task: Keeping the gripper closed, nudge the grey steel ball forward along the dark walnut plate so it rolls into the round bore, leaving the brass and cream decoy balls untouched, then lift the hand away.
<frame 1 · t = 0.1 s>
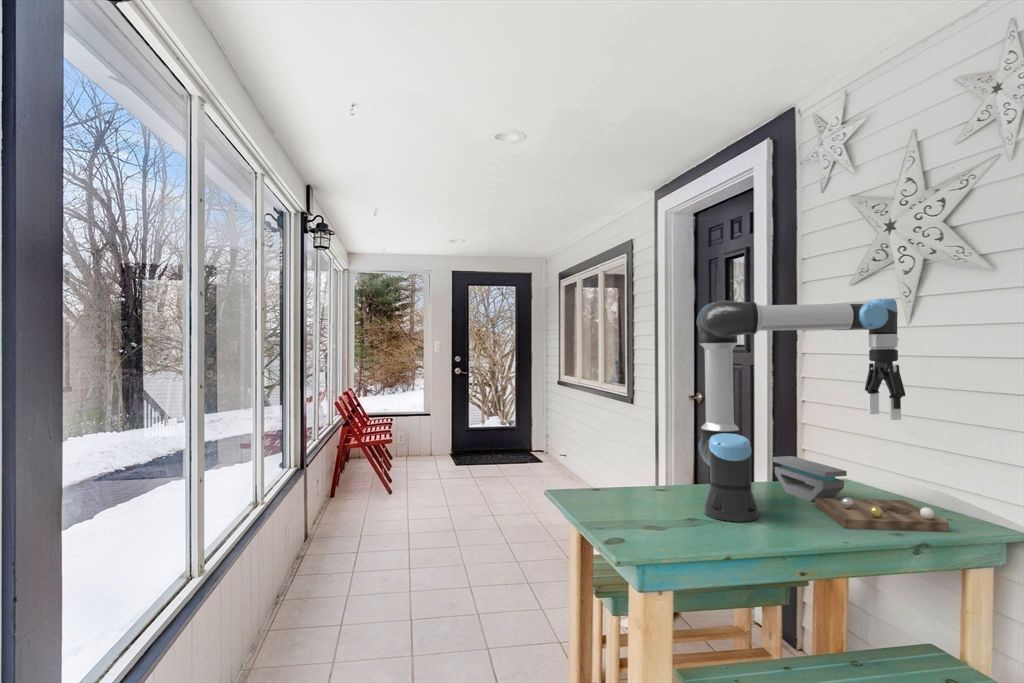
hand: (884, 416, 178), 28 cm above the table, fingers open, 13 cm apart
walnut plate: (876, 517, 167), on the table
steel ball: (847, 503, 168), point 4 cm above the table, touching walnut plate
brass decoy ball: (875, 511, 159), point 4 cm above the table, touching walnut plate
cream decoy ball: (926, 513, 158), point 4 cm above the table, touching walnut plate
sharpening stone: (807, 496, 192), on the table
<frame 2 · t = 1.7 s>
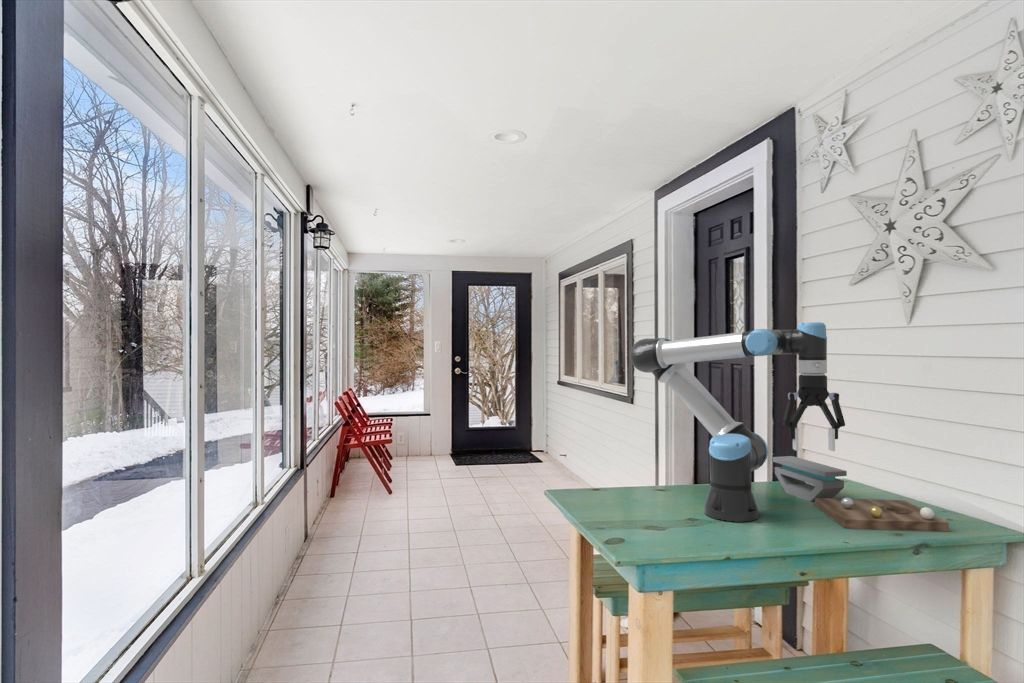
hand: (813, 450, 170), 20 cm above the table, fingers open, 9 cm apart
nothing on the table moved.
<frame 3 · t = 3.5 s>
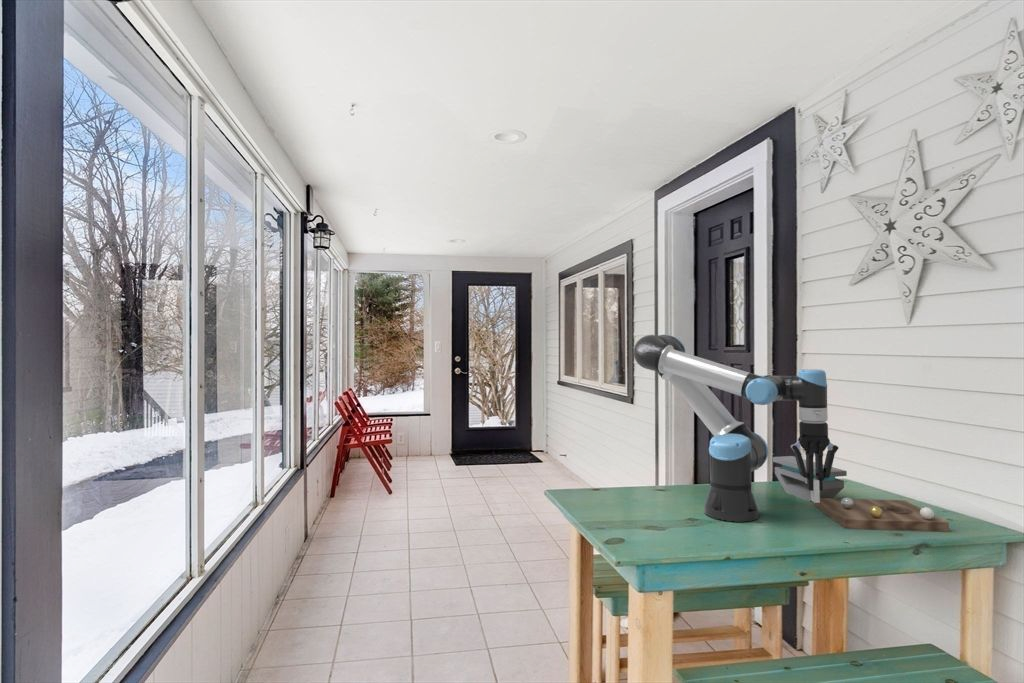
hand: (815, 501, 170), 4 cm above the table, fingers closed
nothing on the table moved.
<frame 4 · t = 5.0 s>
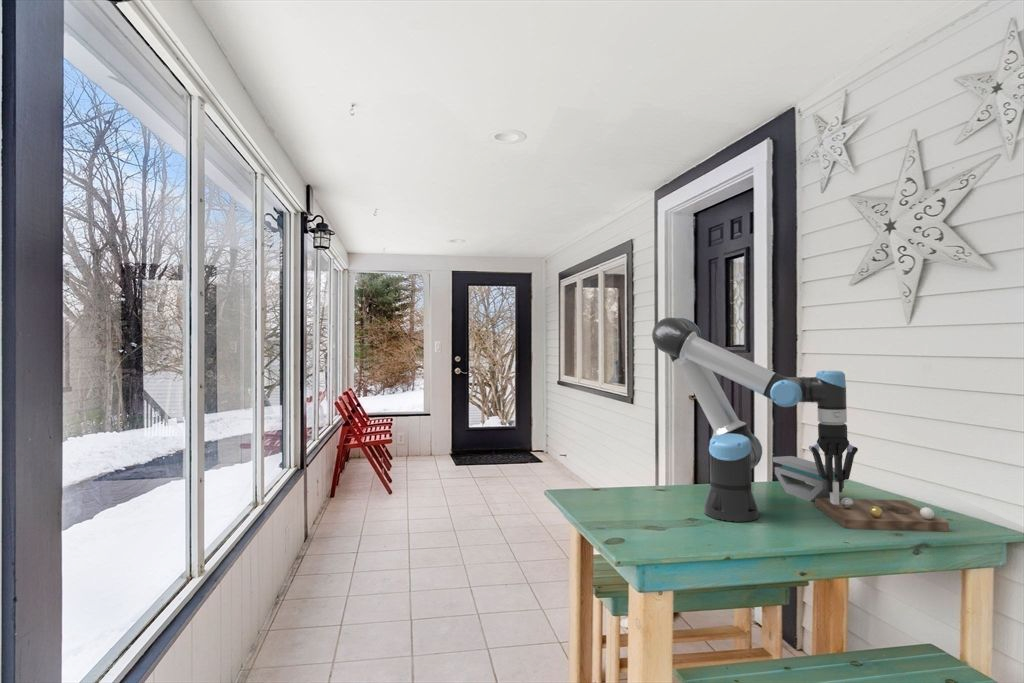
hand: (834, 503, 169), 4 cm above the table, fingers closed
nothing on the table moved.
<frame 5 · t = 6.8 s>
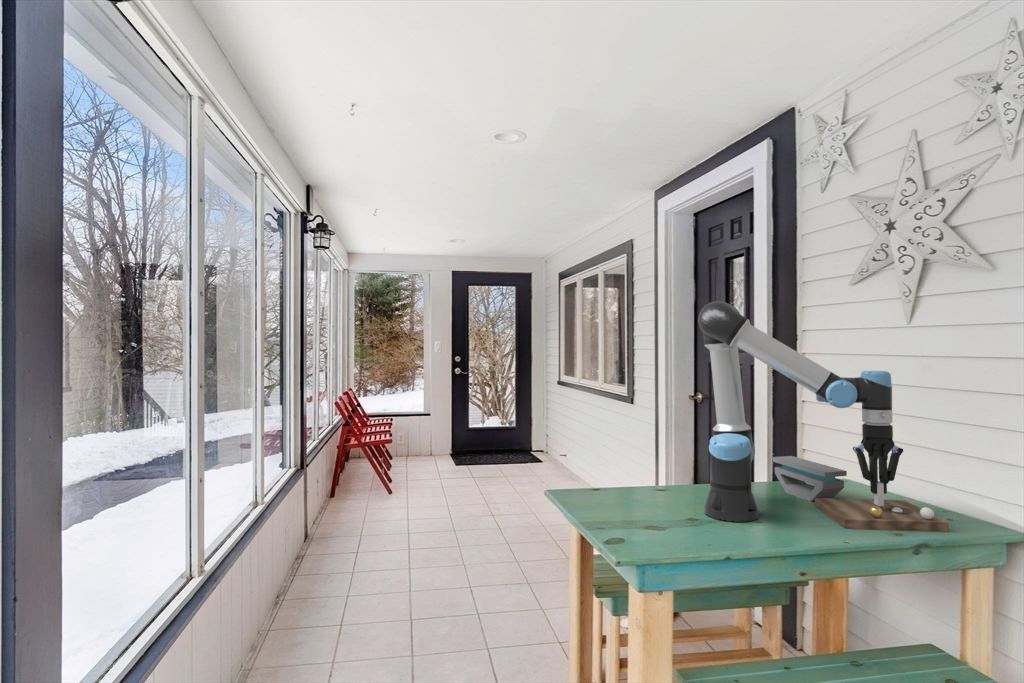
hand: (878, 504, 167), 4 cm above the table, fingers closed
steel ball: (897, 513, 166), point 2 cm above the table, tilted 162°
everything else where it was.
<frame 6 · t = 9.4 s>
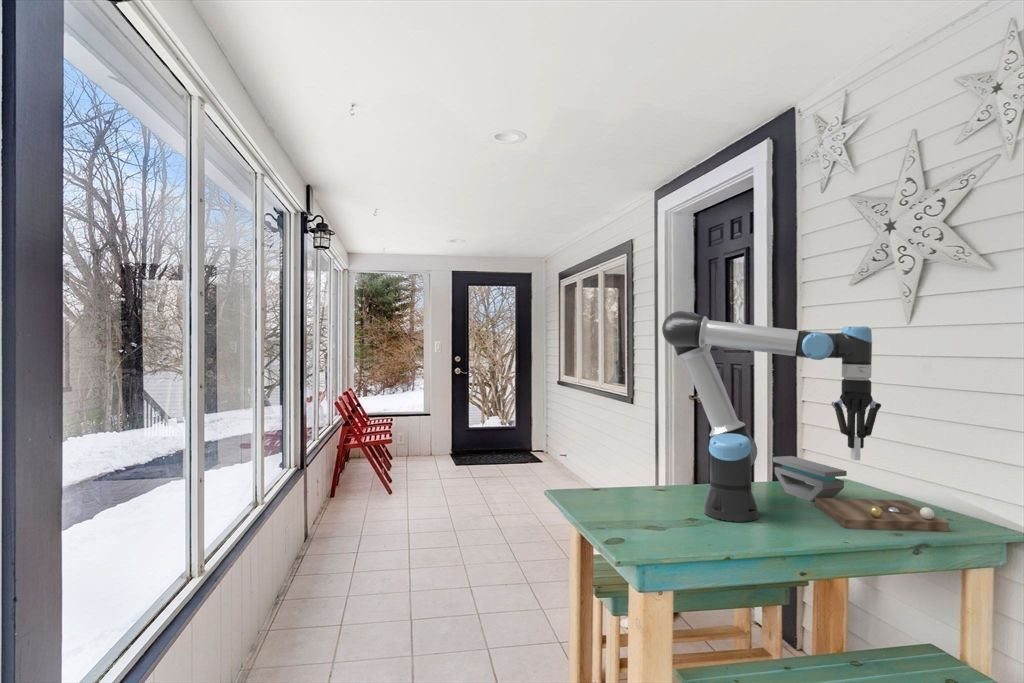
hand: (855, 459, 168), 17 cm above the table, fingers closed
steel ball: (893, 513, 166), point 2 cm above the table, tilted 125°
everything else where it was.
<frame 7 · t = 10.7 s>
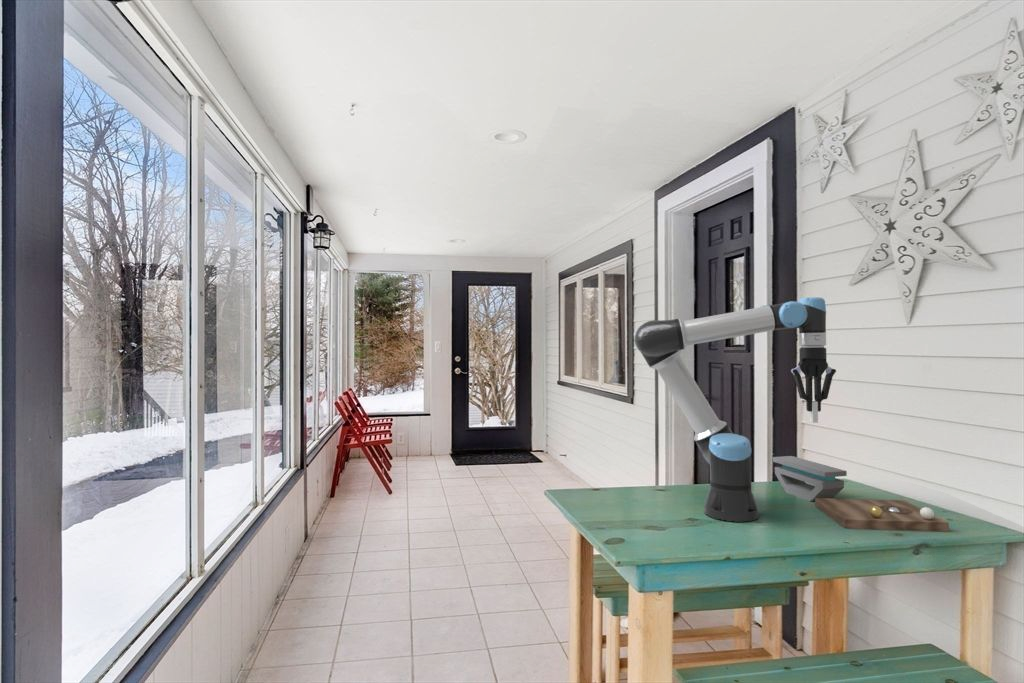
hand: (813, 421, 180), 26 cm above the table, fingers closed
nothing on the table moved.
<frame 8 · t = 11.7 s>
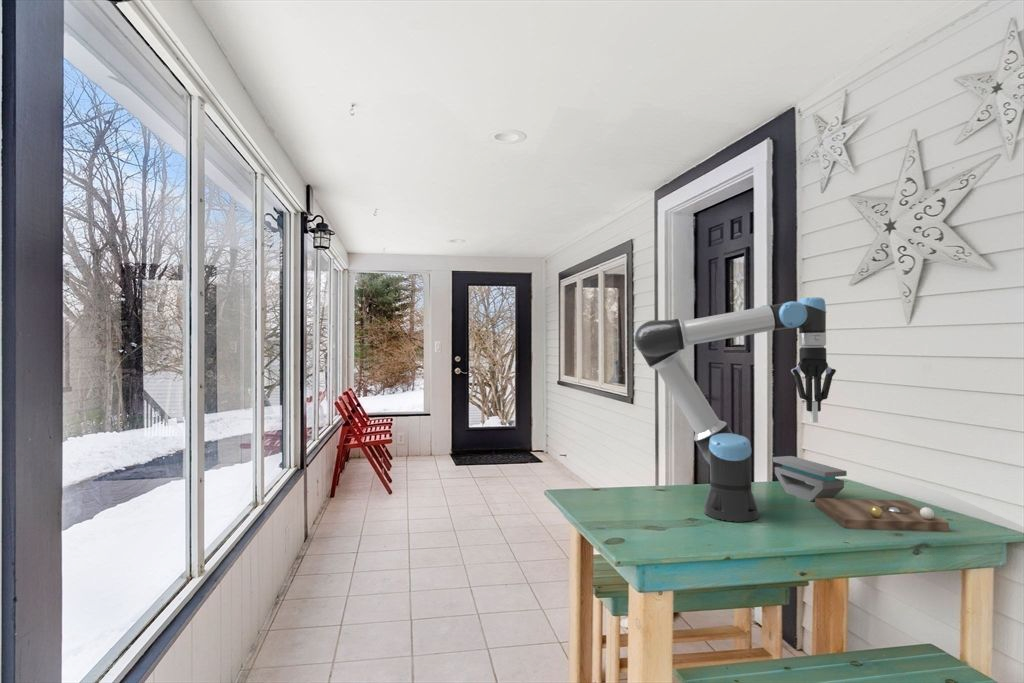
hand: (813, 421, 180), 26 cm above the table, fingers closed
nothing on the table moved.
at the end: steel ball 0.4 cm from the target spot in the walnut plate, point 1.6 cm above the walnut plate's base; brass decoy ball moved 0.0 cm from its start; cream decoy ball moved 0.0 cm from its start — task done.
